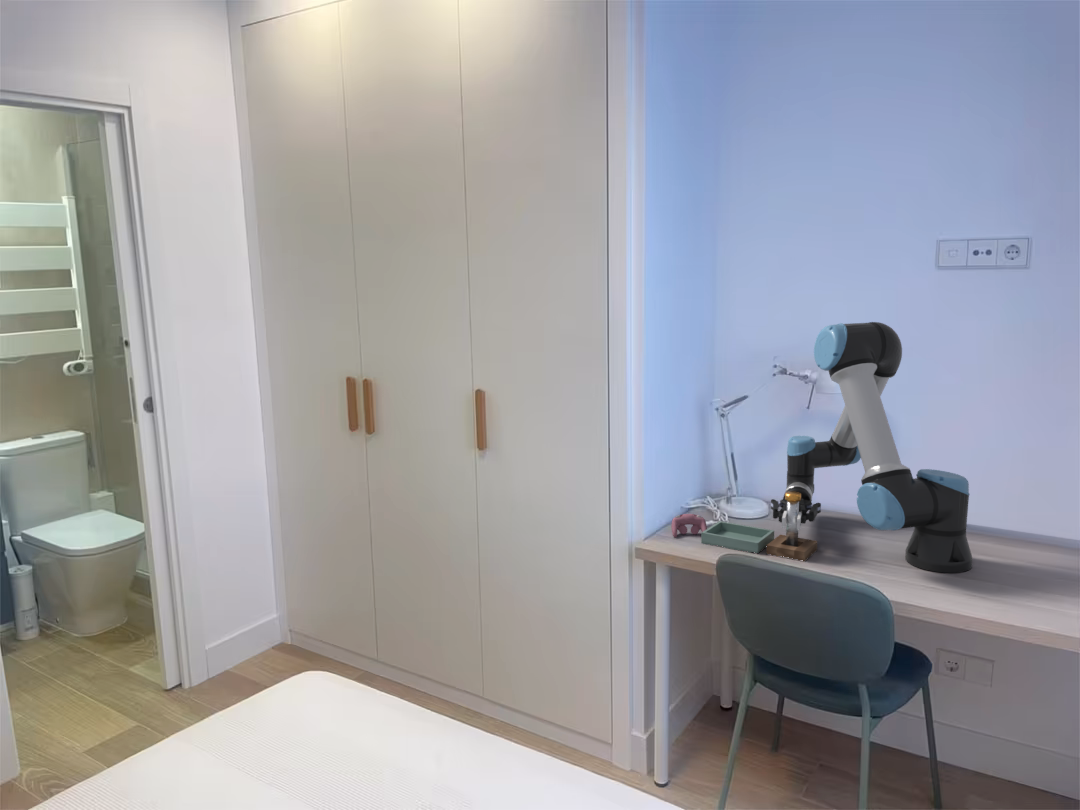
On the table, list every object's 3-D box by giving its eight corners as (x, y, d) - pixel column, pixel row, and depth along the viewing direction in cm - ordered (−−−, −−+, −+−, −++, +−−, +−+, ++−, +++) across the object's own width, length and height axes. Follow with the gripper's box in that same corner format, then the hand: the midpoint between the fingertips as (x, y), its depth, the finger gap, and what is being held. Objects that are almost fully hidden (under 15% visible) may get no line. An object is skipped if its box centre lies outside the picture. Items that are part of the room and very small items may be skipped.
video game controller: (706, 539, 233) (705, 514, 235) (708, 537, 228) (707, 512, 230) (671, 539, 233) (670, 514, 235) (672, 537, 229) (671, 512, 231)
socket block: (817, 550, 217) (817, 541, 217) (804, 561, 209) (804, 552, 209) (780, 543, 223) (780, 534, 223) (766, 554, 215) (766, 545, 215)
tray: (774, 540, 225) (774, 530, 224) (757, 554, 215) (757, 543, 215) (719, 531, 234) (719, 520, 234) (701, 543, 225) (701, 532, 224)
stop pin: (801, 547, 216) (803, 492, 214) (796, 552, 213) (798, 496, 211) (786, 545, 219) (788, 490, 216) (781, 549, 216) (782, 494, 213)
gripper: (827, 514, 229) (823, 540, 207) (767, 509, 235) (758, 535, 213) (828, 488, 228) (824, 512, 206) (768, 484, 233) (758, 507, 212)
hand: (790, 523), depth 210 cm, fingers closed on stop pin, 3 cm apart
